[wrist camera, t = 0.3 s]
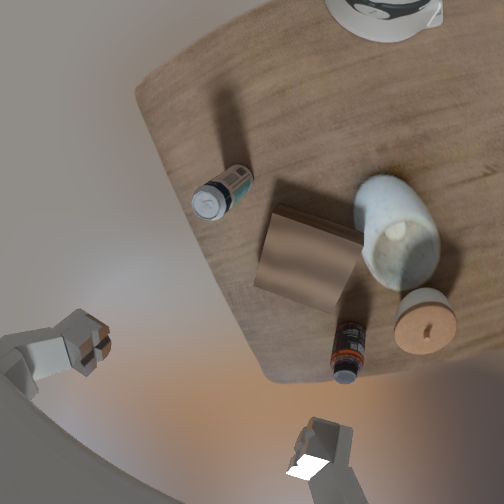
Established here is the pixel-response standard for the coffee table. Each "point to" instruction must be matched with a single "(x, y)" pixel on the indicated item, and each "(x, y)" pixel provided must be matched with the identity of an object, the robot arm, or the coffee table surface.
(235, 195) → the beer can
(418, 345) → the lidded jar
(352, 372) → the supplement bottle
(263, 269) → the walnut block
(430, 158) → the coffee table surface
